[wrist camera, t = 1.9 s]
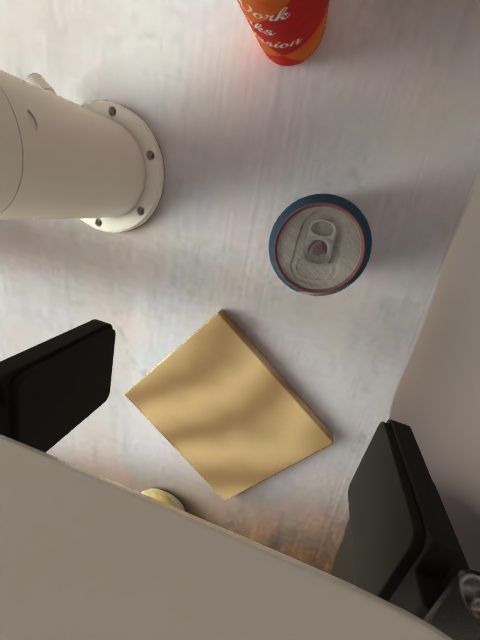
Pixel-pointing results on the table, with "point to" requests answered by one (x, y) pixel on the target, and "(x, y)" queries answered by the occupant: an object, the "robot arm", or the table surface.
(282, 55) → the paper cup
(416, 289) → the table surface
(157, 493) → the bread roll
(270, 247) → the soda can
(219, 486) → the breadboard
